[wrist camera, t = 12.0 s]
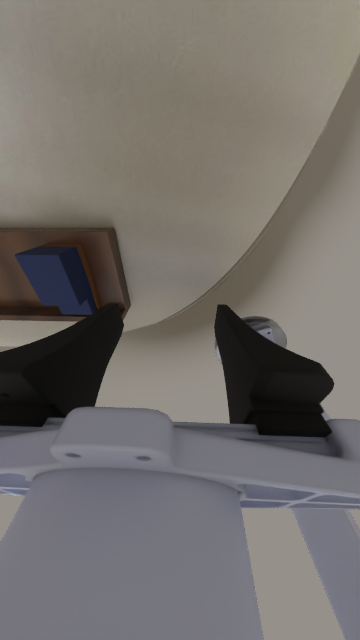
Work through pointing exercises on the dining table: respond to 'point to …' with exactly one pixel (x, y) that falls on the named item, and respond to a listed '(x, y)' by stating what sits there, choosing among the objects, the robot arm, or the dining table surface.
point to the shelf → (98, 243)
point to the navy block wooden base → (61, 277)
